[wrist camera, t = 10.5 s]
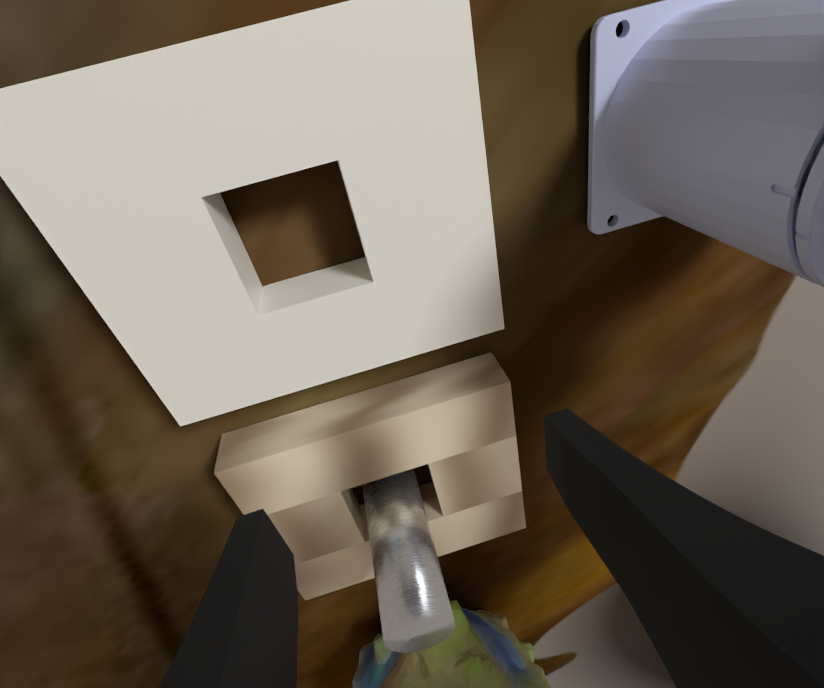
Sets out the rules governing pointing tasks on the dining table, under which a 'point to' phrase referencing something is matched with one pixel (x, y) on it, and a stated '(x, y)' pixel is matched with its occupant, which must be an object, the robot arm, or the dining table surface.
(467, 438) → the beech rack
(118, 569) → the dining table surface
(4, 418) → the dining table surface
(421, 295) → the socket block
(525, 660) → the decorative rock
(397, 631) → the steel peg
